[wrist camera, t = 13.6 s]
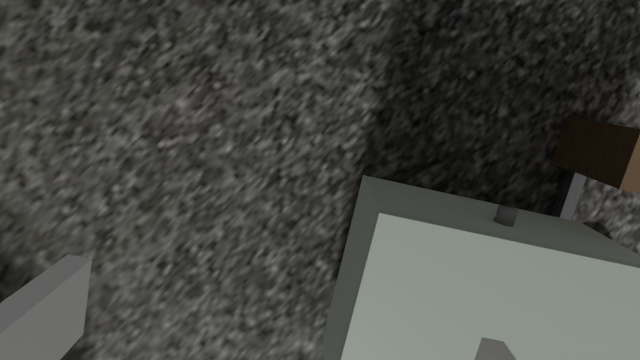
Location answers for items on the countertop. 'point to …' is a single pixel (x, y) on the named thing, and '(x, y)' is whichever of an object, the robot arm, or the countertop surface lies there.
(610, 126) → the block
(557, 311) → the cabinet
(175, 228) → the countertop surface
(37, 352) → the robot arm
